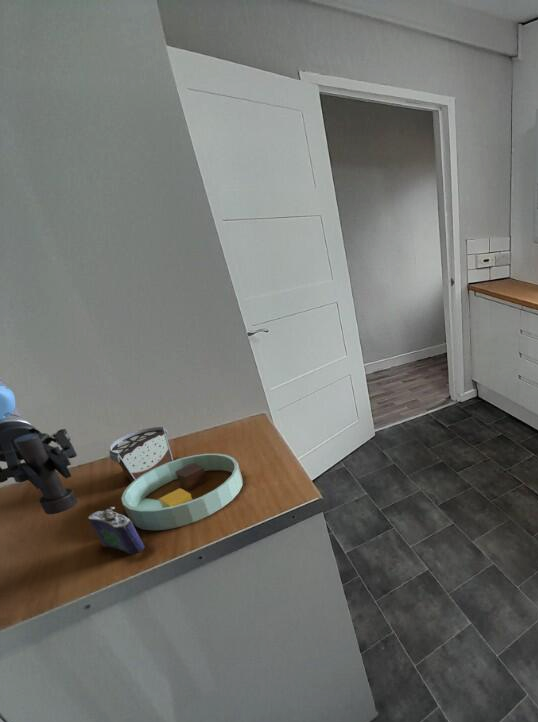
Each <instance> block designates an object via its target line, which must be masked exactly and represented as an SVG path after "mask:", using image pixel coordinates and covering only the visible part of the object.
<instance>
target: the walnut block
mask: <svg viewBox="0 0 538 722" xmlns="http://www.w3.org/2000/svg"><path fill="white" fill-rule="evenodd" d="M175 473H176V475H177V478H178V479H177V480H178V483H179V485H180V486H181V487H182V488H184V489H185V490H187V491H192V490H194V489H197V488H198V487H200V486H201V485H203V484H205V483H207V482H209V479H208V477H207V473H206V471H204V468H203V467H201V466H199V465H197V464H195V463H193V464H191V465H189V466H187V467H184V468H182V469H180V470H178V471H176V472H175Z"/></svg>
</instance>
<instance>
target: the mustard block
mask: <svg viewBox="0 0 538 722" xmlns="http://www.w3.org/2000/svg"><path fill="white" fill-rule="evenodd" d="M158 500H159V501H160V503H161V505H162V508H166V507H172V506H175V505H179V504H183V503H186V502H189V501H191V500H193V498H192V494H191V493H190V492H188V491H186V490H184V489H182V488H180V487H179V488H177V489H175V490H174V491H171V492H169V493H167V494H165V495H163V496H161V497H159V498H158Z"/></svg>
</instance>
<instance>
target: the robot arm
mask: <svg viewBox="0 0 538 722" xmlns="http://www.w3.org/2000/svg"><path fill="white" fill-rule="evenodd" d="M56 431H57V432H54V433H52V434H51V435H50V434H49V433H46V432H44V433H43V432H41V431H40V430H39V429H37V427H35V426H34V425H32V424H31V423H30V422H28V421H27V420H26V419H25V418H23V417H22V415H21V414H20V411H18V408H17V406H16V397H15V394H14V392H13V391H12V390H11V389H10V388H9V387H8V386H7V384H6V383H5V381H4V380H3V378H2V377H1V376H0V462H3V463H6V466H7V467H5V468H2V467H1V466H0V484H1V483H4V482H7V481H8V479H10V478H13V480H14V481H15V483H24V482H27V481H29V483H30V484H31V485H33V486H34V487H35V488H36V490H40V489H39V488H42V487H44V486H43V484H42V482H41V481H40V479H39V477H38V475H37V473H35V472H34V471H33V470H32V469H31V468H30V467H29V466H28V465H27V464H26V463H25V461H24V459H23V457H22V456H21V454H20V452H19V450H18V448H17V446H16V444H15V443H14V440H15V439H16V438H18V437H21V436H24V435H28V434H37V435H38V436H39V438H40V440H41V442H42V444H43V446H44V448H45V450H46V452H47V454H48V456H49V458H50V460H51V462H52V464H53V466H54V468H55V470H56V472H57V473H59V474H60V475H61V476H62V477H63V478H65V479H68V478H71V477H72V474H71V472H70V469H69V468H68V467H69V466H71V465H72V464H71V461H70V459H73V458H76V457H77V456H78V454H77V452H76V450H75V448H74V446H73V444H72V443H71V438H70V435H69V433H68V431H67V429H66V428H61V429H59V430H56ZM52 442H53V443H56V444H57V445H58V446H52V445H50V444H51V443H52ZM59 446H60V447H59ZM60 448H61V449H60ZM21 461H24V462H21Z"/></svg>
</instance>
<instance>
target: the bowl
mask: <svg viewBox="0 0 538 722" xmlns="http://www.w3.org/2000/svg"><path fill="white" fill-rule="evenodd" d="M193 463H195V464H197V465H199V466H201V467H203V468H204V471H205V472H207V471H225V472H230V473H231V475H230V476H229V477H228V478H227V479H226V480H225V481H224V482H223V483H221V484H220V485H218V486H217V487H216V488H215V489H213V490H211V491H209V492H207V493H205V494H204V495H202V496H199V497H196V498H194V499H192V500H191V501H189V502H186V503H183V504H179V505H175V506H172V507H166V508H162V505H161V503H160V500H159V499H152V498H146V497H148V496H149V495H150V494H151V493H153V492H155V491H156V490H158V489H159V488H160V487H162V486H165V485H167V484H168V483H170V482H172V481H175V480H178V478H177V475H176V473H175V472H176V471H178V470H180V469H182V468H184V467H187V466H189V465H191V464H193ZM243 483H244V481H243V475H242V473H241V469H240V466H239V462H238V461H237V459H235V457H233V456H230V455H228V454H224V453H201V454H193V455H189V456H185V457H181V458H177V459H175V460H174V459H173V461H171V462H168V463H166V464H163V465H161V466H159V467H156V468H154V469H152V470H150V471H148V472H147V473H145V474H143V475H141V476H140V477H139V478H137V479H136V480H135V481H133V482H131V483H130V484H129V485H128V486H127V487H126V488H125V489H124V491H123V492H122V495H121V497H120V500H121V503H122V506H123V508H124V511H125V512H126V516H127V518H128V519H130V520H131V522H132V524H133V526H134V527H135V528H138V529H141V530H146V531H165V530H171V529H176V528H180V527H183V526H184V527H185V526H188V525H190V524H193V523H196V522H198V521H201V520H203V519H205V518H206V517H209V516H211V515H213V514H214V513H216V512H218V511H220V510H221V509H222V508H224V507H226V505H228V504H229V503H230V502H232V501H233V500H234V499H235V498H236V497H237V495H238V494H239V493H240V492H241V489H242V487H243Z"/></svg>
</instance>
